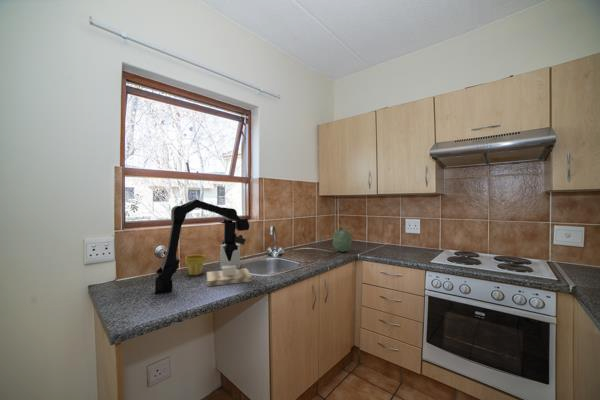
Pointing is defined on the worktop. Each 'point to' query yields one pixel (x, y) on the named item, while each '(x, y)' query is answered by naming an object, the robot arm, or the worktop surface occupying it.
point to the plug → (228, 270)
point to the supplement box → (234, 259)
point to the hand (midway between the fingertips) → (229, 260)
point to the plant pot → (195, 264)
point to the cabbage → (342, 240)
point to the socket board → (228, 277)
